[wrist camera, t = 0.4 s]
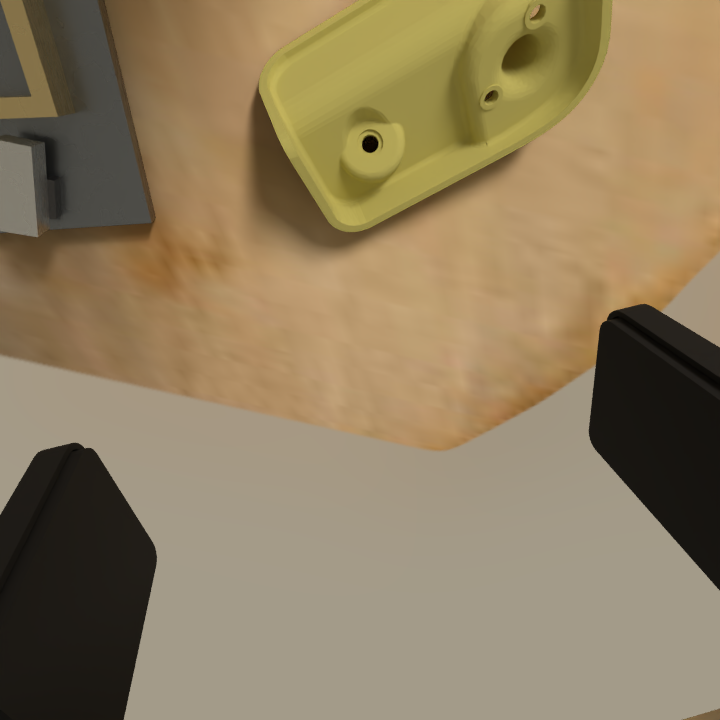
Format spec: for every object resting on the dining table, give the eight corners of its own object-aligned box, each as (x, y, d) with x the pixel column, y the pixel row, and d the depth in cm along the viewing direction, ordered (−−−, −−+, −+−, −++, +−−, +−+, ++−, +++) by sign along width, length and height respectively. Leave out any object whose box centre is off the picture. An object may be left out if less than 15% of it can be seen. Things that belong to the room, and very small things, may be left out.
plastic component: (341, 243, 35) (272, 132, 27) (316, 181, 39) (249, 67, 31) (605, 103, 32) (618, -73, 24) (549, 51, 36) (544, -116, 28)
